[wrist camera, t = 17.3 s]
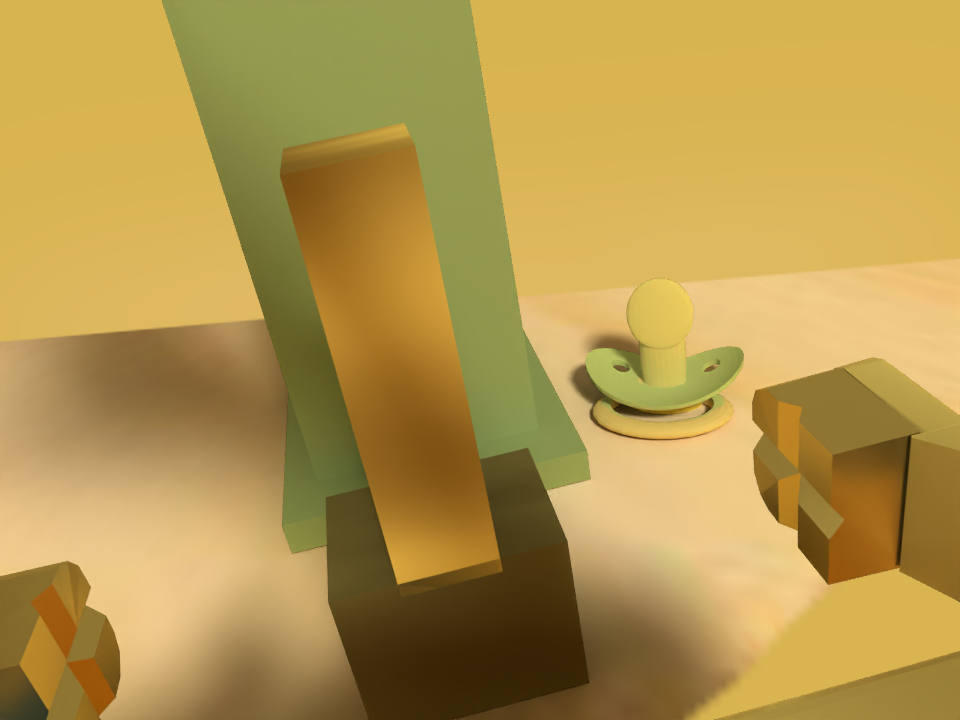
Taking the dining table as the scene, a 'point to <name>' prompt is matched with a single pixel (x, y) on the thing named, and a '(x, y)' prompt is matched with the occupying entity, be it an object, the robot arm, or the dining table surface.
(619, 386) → the pacifier
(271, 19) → the stand
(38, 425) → the dining table surface
